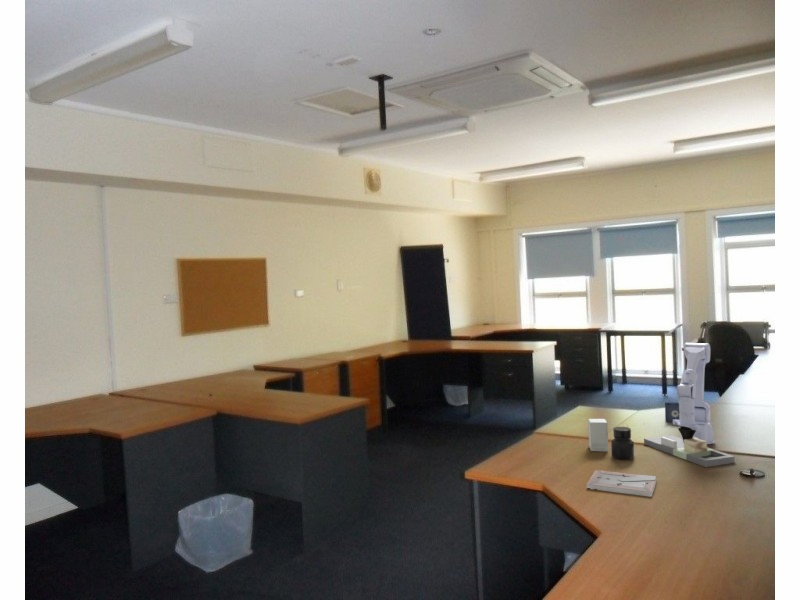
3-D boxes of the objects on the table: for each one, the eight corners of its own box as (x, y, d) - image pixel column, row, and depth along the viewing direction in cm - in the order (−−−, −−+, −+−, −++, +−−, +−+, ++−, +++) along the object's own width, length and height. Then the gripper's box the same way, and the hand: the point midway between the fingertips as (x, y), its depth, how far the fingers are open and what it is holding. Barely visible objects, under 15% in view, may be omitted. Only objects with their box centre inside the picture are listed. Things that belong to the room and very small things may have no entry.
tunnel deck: (670, 440, 271) (669, 428, 271) (734, 462, 237) (734, 448, 237) (644, 444, 268) (643, 431, 267) (705, 467, 233) (705, 453, 233)
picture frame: (656, 482, 220) (595, 475, 231) (656, 476, 220) (595, 469, 231) (651, 498, 206) (586, 489, 216) (651, 491, 206) (586, 483, 216)
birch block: (696, 447, 251) (695, 437, 251) (707, 451, 245) (706, 441, 245) (684, 449, 249) (683, 439, 249) (695, 453, 244) (694, 443, 243)
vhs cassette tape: (706, 424, 297) (705, 404, 296) (705, 425, 294) (705, 405, 294) (666, 420, 307) (665, 401, 306) (665, 422, 304) (664, 402, 304)
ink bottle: (634, 454, 253) (634, 426, 252) (635, 461, 245) (635, 431, 244) (610, 453, 256) (609, 425, 256) (610, 459, 248) (609, 430, 247)
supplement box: (608, 451, 259) (607, 422, 258) (590, 451, 260) (589, 422, 260) (606, 446, 266) (605, 418, 266) (588, 446, 268) (587, 418, 267)
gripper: (666, 410, 257) (667, 441, 257) (691, 417, 243) (692, 450, 244) (680, 408, 259) (681, 439, 259) (706, 415, 245) (707, 448, 246)
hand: (687, 445), depth 252 cm, fingers closed
